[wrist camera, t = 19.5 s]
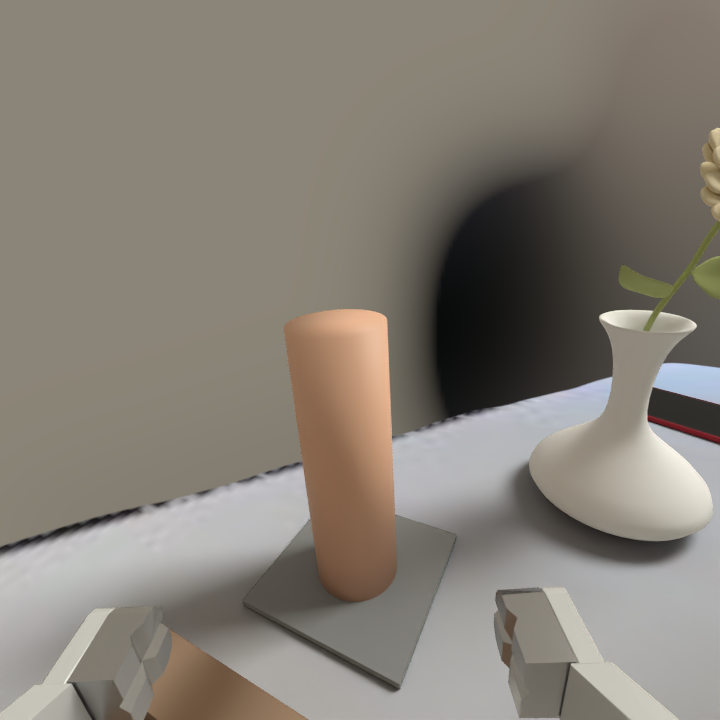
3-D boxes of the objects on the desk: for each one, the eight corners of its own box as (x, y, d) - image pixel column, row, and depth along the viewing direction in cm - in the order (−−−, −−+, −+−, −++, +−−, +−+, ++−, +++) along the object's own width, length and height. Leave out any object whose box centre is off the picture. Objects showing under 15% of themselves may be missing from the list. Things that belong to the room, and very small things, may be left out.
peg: (408, 548, 26) (402, 312, 20) (375, 615, 22) (356, 344, 16) (343, 525, 28) (320, 306, 22) (302, 582, 24) (261, 333, 18)
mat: (456, 538, 27) (456, 534, 27) (399, 689, 19) (399, 684, 19) (331, 498, 32) (331, 493, 31) (243, 604, 23) (242, 600, 23)
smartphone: (636, 382, 46) (831, 433, 34) (635, 389, 46) (828, 442, 35) (607, 403, 42) (818, 468, 30) (606, 411, 42) (814, 478, 31)
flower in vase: (548, 550, 26) (616, 101, 16) (514, 449, 36) (544, 138, 27) (783, 569, 23) (1014, 60, 14) (674, 455, 34) (767, 119, 25)
